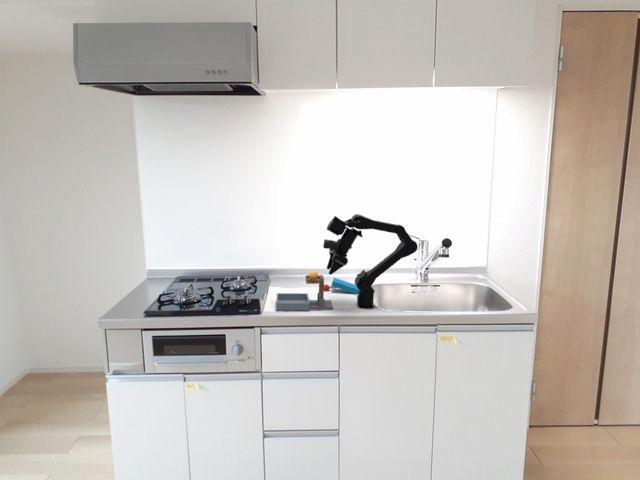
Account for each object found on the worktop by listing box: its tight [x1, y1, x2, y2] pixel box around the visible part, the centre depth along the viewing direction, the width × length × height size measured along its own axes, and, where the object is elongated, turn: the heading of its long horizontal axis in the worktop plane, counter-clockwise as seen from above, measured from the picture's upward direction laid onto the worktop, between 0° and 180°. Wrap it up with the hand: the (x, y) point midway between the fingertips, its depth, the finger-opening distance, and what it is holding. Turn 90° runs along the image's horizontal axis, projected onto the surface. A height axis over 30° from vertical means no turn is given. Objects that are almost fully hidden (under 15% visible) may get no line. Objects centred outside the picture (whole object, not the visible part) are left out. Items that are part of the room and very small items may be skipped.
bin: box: [275, 292, 310, 312], centre depth 203 cm, size 14×14×4 cm
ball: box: [308, 270, 319, 279], centre depth 202 cm, size 4×4×4 cm
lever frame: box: [309, 292, 334, 311], centre depth 204 cm, size 10×10×4 cm
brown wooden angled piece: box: [305, 274, 325, 299], centre depth 203 cm, size 8×7×11 cm
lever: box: [324, 277, 360, 295], centre depth 227 cm, size 7×7×18 cm
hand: (328, 271), depth 202 cm, fingers open, 9 cm apart
